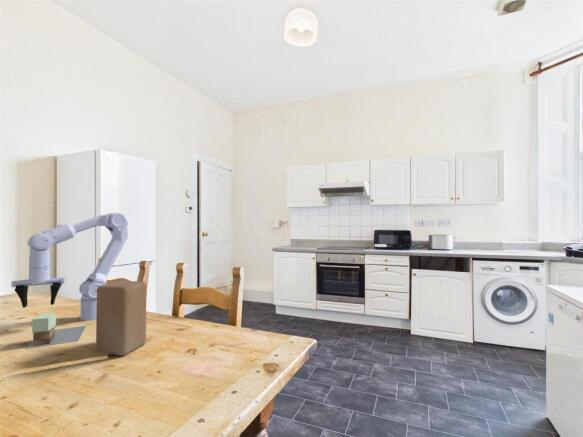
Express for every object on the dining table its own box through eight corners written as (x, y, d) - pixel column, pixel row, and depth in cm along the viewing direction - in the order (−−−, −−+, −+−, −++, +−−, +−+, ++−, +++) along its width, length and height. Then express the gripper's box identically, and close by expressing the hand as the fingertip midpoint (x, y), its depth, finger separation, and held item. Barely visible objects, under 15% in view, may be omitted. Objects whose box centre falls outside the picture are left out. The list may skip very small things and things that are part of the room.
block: (123, 357, 85) (124, 287, 85) (94, 354, 87) (95, 286, 87) (147, 343, 95) (147, 281, 95) (120, 341, 97) (121, 280, 97)
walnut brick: (54, 337, 97) (54, 324, 97) (49, 343, 92) (49, 330, 92) (38, 339, 95) (39, 326, 95) (33, 346, 90) (33, 332, 90)
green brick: (56, 324, 97) (56, 312, 97) (48, 331, 92) (48, 318, 92) (41, 326, 96) (41, 313, 96) (32, 332, 90) (32, 319, 90)
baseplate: (86, 328, 108) (86, 325, 108) (78, 344, 94) (78, 340, 94) (40, 335, 102) (40, 331, 102) (24, 352, 88) (24, 348, 88)
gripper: (67, 264, 112) (66, 300, 112) (17, 267, 106) (16, 305, 105) (63, 266, 106) (62, 304, 106) (9, 269, 99) (8, 310, 99)
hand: (38, 305), depth 105 cm, fingers open, 7 cm apart
